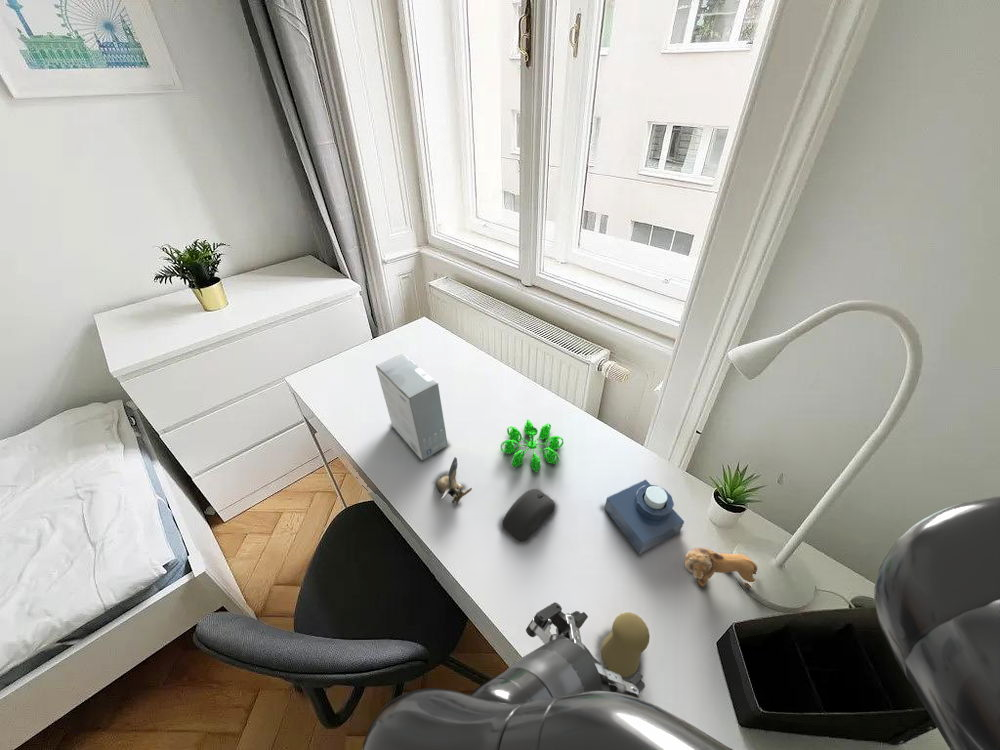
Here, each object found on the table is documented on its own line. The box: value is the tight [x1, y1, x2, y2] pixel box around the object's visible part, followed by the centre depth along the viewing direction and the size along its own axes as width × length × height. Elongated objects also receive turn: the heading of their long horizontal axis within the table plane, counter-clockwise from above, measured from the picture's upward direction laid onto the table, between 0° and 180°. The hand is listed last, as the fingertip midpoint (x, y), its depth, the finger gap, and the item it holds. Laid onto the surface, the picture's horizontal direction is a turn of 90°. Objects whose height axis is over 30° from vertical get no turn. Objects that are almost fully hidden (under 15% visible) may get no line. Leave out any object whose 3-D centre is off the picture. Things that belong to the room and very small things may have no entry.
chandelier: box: [500, 418, 564, 473], centre depth 96 cm, size 15×15×7 cm
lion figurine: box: [684, 547, 758, 589], centre depth 71 cm, size 15×5×9 cm, turn 95°
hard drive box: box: [375, 353, 449, 461], centre depth 96 cm, size 16×8×20 cm, turn 40°
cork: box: [600, 612, 650, 678], centre depth 62 cm, size 6×6×11 cm
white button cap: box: [644, 485, 667, 509], centre depth 79 cm, size 4×4×2 cm
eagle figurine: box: [434, 456, 473, 506], centre depth 88 cm, size 8×7×9 cm
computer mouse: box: [501, 488, 556, 542], centre depth 83 cm, size 6×11×4 cm, turn 136°
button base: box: [604, 479, 685, 555], centre depth 81 cm, size 11×10×6 cm
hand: (608, 648), depth 51 cm, fingers open, 8 cm apart
